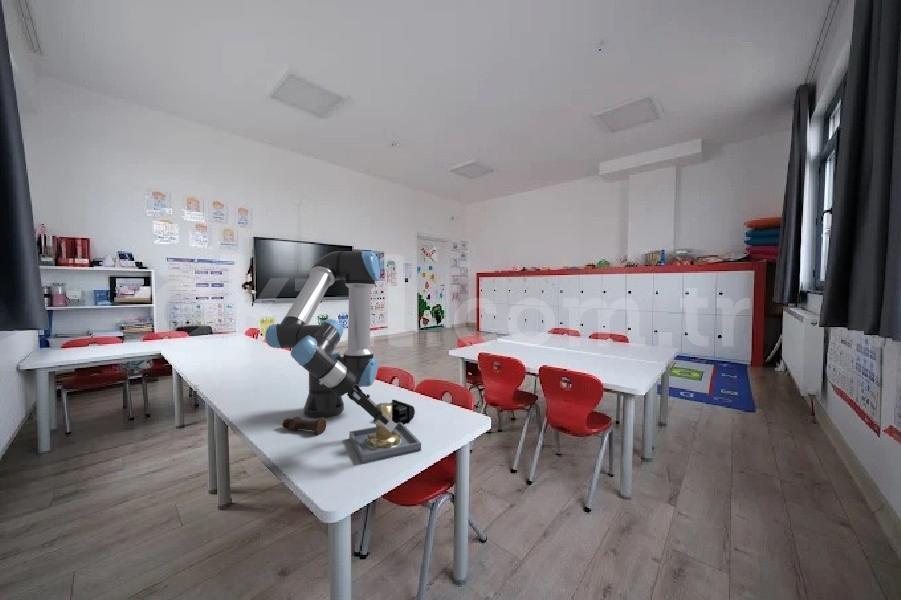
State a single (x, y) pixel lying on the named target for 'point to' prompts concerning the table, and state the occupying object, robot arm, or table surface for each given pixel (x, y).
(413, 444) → the carrier tray
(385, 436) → the toothed flange peg
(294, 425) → the bolt
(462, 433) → the table surface
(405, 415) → the end cap
